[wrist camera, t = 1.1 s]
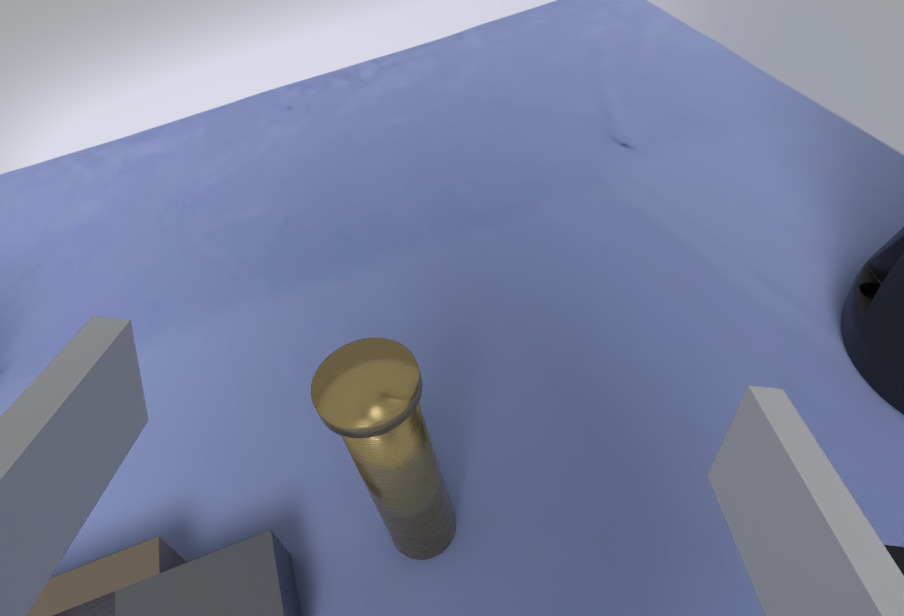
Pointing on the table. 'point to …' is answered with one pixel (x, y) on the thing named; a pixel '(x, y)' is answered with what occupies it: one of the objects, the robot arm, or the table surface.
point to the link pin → (387, 439)
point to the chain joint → (178, 583)
